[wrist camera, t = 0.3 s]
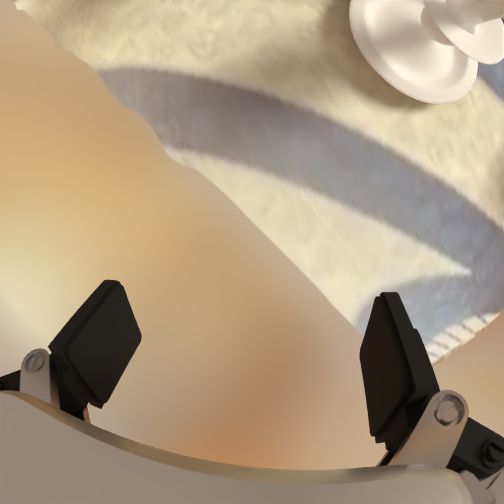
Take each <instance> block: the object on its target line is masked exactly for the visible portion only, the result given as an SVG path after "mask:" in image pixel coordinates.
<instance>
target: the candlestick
mask: <svg viewBox="0 0 504 504" xmlns="http://www.w3.org/2000/svg"><path fill="white" fill-rule="evenodd" d="M501 18H503V19H504V0H351V2H350V6H349V22H350V27H351V31H352V34H353V37H354V39H355V42H356V44H357V46H358V48H359V49H360V51H361V53H362V54H363V56H364V57H365V59H366V60H367V62H368V63H369V64H370V65H371V67H372V68H373V69H374V70H375V71H376V72H377V73H378V74H379V75H380V76H381V77H382V78H383V79H384V80H385V81H386V82H388V83H389V84H390V85H391V86H393V87H394V88H395V89H397V90H398V91H400V92H402V93H403V94H405V95H407V96H409V97H411V98H413V99H416V100H419V101H422V102H425V103H430V104H448V103H452V102H455V101H457V100H459V99H461V98H462V97H464V96H465V95H466V94H467V93H468V92H469V90H470V89H471V88H472V86H473V84H474V82H475V79H476V75H477V69H478V62H480V63H484V64H496V63H498V62H500V61H501V60H502V59H503V58H504V25H503V22H502V20H501Z"/></svg>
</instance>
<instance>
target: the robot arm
mask: <svg viewBox="0 0 504 504" xmlns="http://www.w3.org/2000/svg"><path fill="white" fill-rule="evenodd" d="M141 337H142V336H141V332H140V329H139V327H138V325H137V322H136V320H135V317H134V314H133V312H132V309H131V306H130V304H129V301H128V298H127V295H126V292H125V289H124V287H123V286H122V285H121V284H120V282H119V281H116V280H104V281H103V282H102V283H101V284H100V285H99V287H98V288H97V289H96V290H95V291H94V292H93V293H92V294H91V295H90V297H89V298H88V299H87V300H86V301H85V302H84V304H83V305H82V306H81V307H80V308H79V309H78V310H77V312H76V313H75V314H74V315H73V316H72V317H71V319H70V320H69V321H68V322H67V323H66V325H65V326H64V327H63V328H62V329H61V331H60V332H59V333H58V335H57V336H56V337H55V338H54V340H53V341H52V342H51V343H50V345H49V346H48V347H49V349H50V350H51V352H52V353H51V354H50V355H49V353H48V352H47V351H46V350H45V349H35V350H33V351H31V352H30V353H28V354H27V355H26V356H25V358H24V360H23V361H22V365H21V370H18V371H16V372H13V373H10V374H8V375H5V376H2V377H0V504H504V438H503V437H502V436H500V435H499V434H497V433H495V432H493V431H492V430H490V429H488V428H487V427H485V426H483V425H481V424H480V423H478V422H476V421H475V420H473V419H471V418H470V417H468V414H469V410H468V405H467V403H466V400H465V399H464V398H463V397H462V396H461V395H460V394H458V393H457V392H454V391H451V390H443V391H440V389H439V386H438V383H437V380H436V377H435V374H434V371H433V368H432V365H431V362H430V360H429V357H428V354H427V352H426V349H425V347H424V344H423V341H422V339H421V337H420V334H419V332H418V330H417V329H415V328H414V329H413V326H412V324H411V321H410V319H409V317H408V314H407V312H406V310H405V307H404V305H403V303H402V301H401V298H400V296H399V294H398V293H397V292H382V293H381V294H380V297H376V298H375V300H374V304H373V308H372V311H371V315H370V319H369V322H368V326H367V329H366V332H365V336H364V339H363V342H362V345H361V348H360V363H361V369H362V374H363V381H364V388H365V395H366V402H367V410H368V418H369V427H370V434H371V436H375V441H376V443H382V442H385V445H386V450H388V451H387V452H386V453H385V455H384V456H383V458H382V459H381V460H380V462H379V463H378V464H377V466H376V467H363V468H352V469H335V470H285V469H269V468H256V467H247V466H239V465H232V464H225V463H219V462H213V461H208V460H202V459H198V458H193V457H188V456H184V455H180V454H175V453H172V452H168V451H165V450H161V449H158V448H154V447H151V446H147V445H144V444H141V443H138V442H135V441H132V440H129V439H127V438H124V437H121V436H118V435H116V434H113V433H111V432H108V431H106V430H103V429H101V428H98V427H96V426H94V425H92V424H91V423H90V418H89V413H88V408H87V404H88V403H90V404H91V405H93V406H95V407H98V408H100V409H101V408H102V407H103V405H104V403H106V402H107V401H108V400H109V398H110V396H111V394H112V392H113V391H114V389H115V387H116V385H117V383H118V381H119V379H120V377H121V376H122V374H123V372H124V370H125V369H126V367H127V365H128V363H129V361H130V360H131V358H132V356H133V354H134V352H135V351H136V349H137V347H138V345H139V344H140V342H141Z"/></svg>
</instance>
